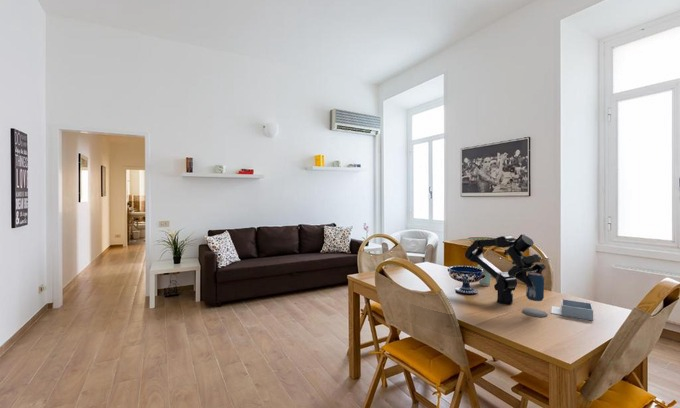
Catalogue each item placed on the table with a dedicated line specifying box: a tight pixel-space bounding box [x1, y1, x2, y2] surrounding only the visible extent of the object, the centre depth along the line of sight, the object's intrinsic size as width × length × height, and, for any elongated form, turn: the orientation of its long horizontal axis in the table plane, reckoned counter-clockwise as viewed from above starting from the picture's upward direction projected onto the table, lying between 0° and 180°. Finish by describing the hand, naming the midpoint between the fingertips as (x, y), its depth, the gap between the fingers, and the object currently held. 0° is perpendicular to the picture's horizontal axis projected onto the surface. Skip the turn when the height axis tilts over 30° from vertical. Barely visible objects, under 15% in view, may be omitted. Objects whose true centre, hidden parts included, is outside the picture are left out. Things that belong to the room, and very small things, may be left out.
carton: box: [551, 298, 594, 321], centre depth 154 cm, size 15×15×4 cm
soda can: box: [525, 272, 545, 302], centre depth 152 cm, size 7×7×12 cm
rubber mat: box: [522, 307, 548, 318], centre depth 152 cm, size 10×10×1 cm
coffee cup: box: [477, 264, 492, 287], centre depth 201 cm, size 8×8×12 cm
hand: (537, 286), depth 151 cm, fingers closed on soda can, 7 cm apart
